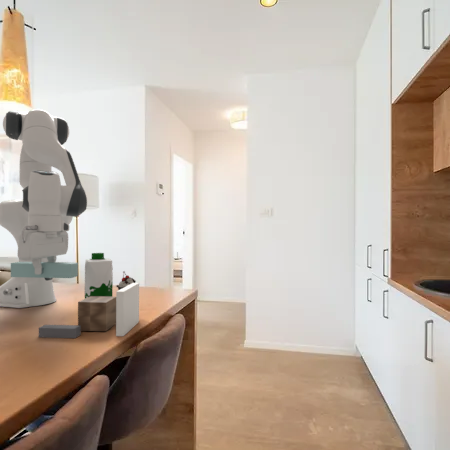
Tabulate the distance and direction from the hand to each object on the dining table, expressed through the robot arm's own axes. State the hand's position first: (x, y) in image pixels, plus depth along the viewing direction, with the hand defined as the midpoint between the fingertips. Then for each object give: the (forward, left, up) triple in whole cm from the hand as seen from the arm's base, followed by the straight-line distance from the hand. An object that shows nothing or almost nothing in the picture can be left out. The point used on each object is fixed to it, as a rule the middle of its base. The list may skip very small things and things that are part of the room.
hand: (44, 272), depth 103 cm
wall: (+25, 0, -16) cm, 30 cm away
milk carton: (+9, +17, -16) cm, 25 cm away
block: (+16, 0, -16) cm, 22 cm away
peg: (0, 0, -1) cm, 1 cm away
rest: (+9, -8, -16) cm, 20 cm away
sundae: (+20, +13, -16) cm, 29 cm away
